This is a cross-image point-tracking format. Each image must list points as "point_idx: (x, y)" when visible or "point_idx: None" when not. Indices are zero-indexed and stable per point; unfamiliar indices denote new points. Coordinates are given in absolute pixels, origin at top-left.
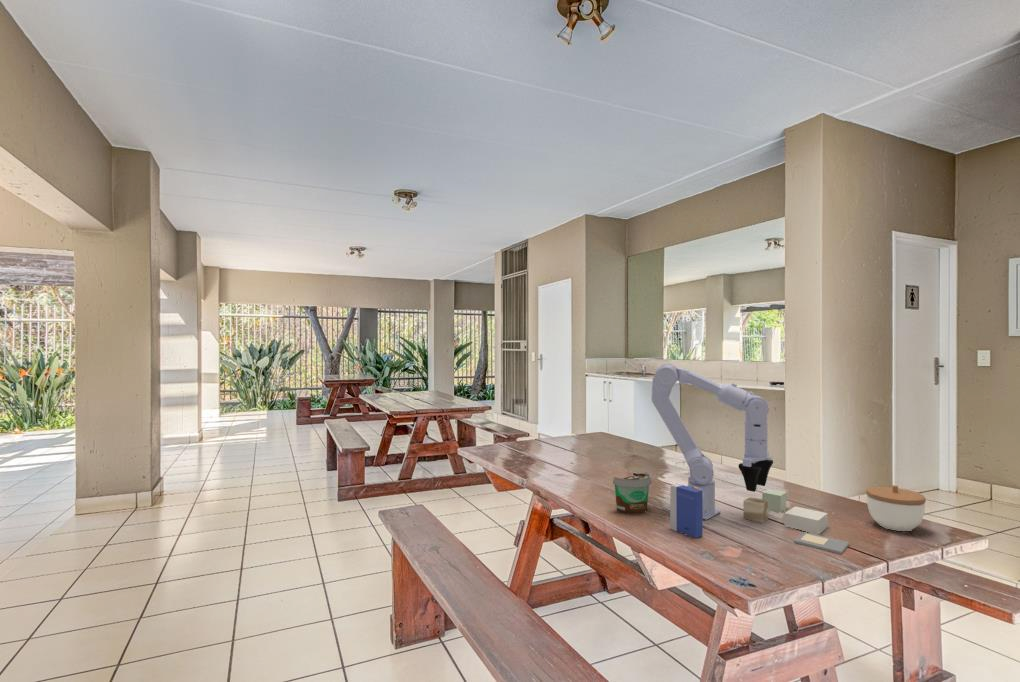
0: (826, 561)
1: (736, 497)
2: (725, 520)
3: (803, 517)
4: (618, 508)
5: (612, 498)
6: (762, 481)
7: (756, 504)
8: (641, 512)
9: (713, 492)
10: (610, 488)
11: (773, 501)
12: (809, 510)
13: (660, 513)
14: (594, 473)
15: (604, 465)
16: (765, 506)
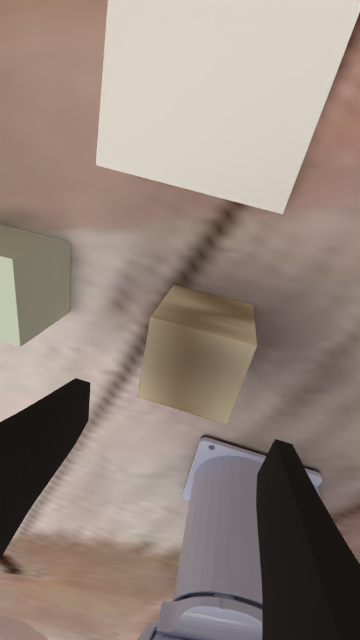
0: None
1: (5, 391)
2: (290, 422)
3: (337, 67)
4: None
5: None
6: (71, 414)
7: (247, 369)
8: None
9: (256, 549)
10: (151, 614)
11: (42, 284)
12: (130, 47)
13: None
14: (68, 622)
15: (2, 604)
16: (206, 321)
